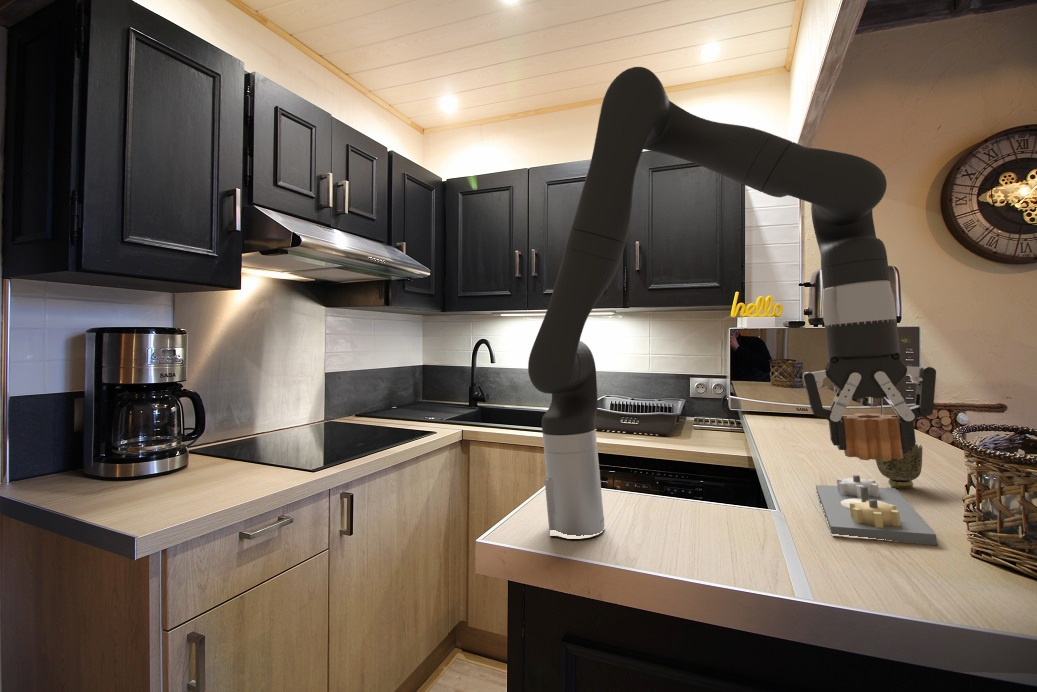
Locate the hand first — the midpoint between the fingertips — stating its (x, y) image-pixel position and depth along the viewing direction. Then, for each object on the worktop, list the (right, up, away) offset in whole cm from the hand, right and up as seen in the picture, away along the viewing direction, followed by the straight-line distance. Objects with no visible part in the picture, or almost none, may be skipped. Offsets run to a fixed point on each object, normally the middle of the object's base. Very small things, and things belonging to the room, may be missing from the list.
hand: (872, 449), depth 59 cm
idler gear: (0, -1, 0) cm, 1 cm away
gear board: (+11, -14, +16) cm, 24 cm away
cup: (+27, -14, +27) cm, 41 cm away
